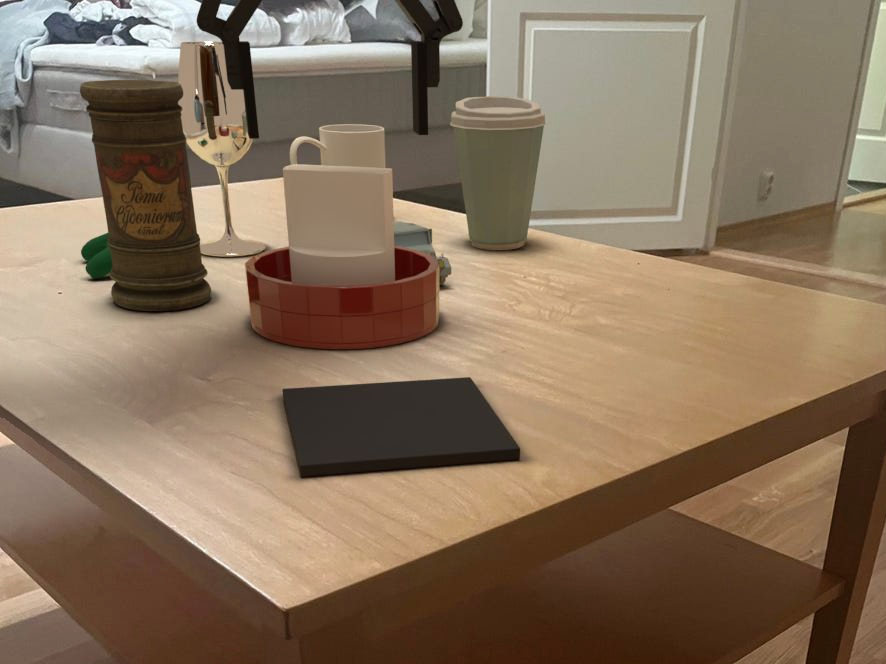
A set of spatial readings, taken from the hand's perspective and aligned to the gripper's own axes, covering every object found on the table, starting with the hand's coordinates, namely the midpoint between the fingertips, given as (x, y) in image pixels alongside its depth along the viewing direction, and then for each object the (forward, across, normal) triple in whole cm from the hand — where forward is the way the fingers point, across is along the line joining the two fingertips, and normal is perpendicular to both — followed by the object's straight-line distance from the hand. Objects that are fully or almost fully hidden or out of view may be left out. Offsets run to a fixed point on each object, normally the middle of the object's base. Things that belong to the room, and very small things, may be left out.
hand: (338, 135), depth 82 cm
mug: (+15, +5, +44) cm, 47 cm away
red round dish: (+15, 0, 0) cm, 15 cm away
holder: (+15, 0, -26) cm, 30 cm away
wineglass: (+15, -9, +30) cm, 35 cm away
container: (+15, -16, +10) cm, 24 cm away
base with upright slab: (+15, 0, 0) cm, 15 cm away
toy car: (+15, +9, +14) cm, 23 cm away
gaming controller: (+15, -21, +23) cm, 35 cm away
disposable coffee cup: (+15, +21, +28) cm, 38 cm away
